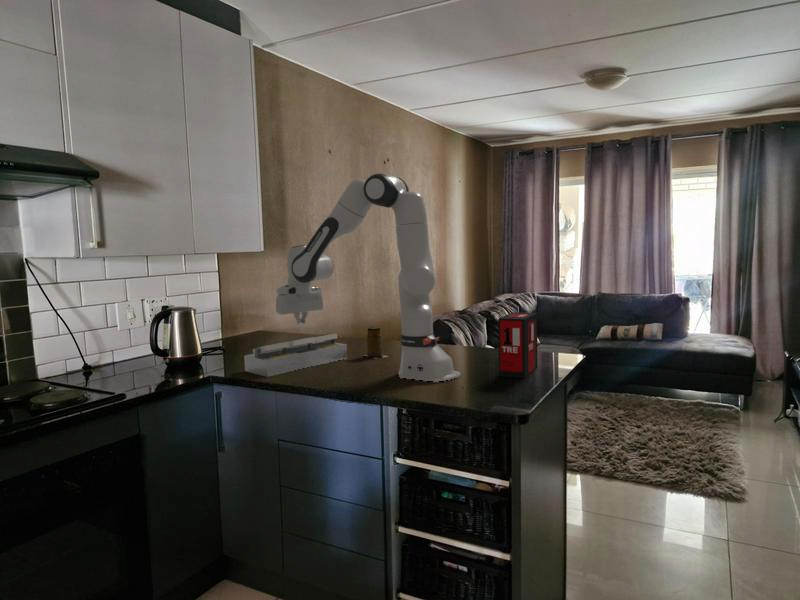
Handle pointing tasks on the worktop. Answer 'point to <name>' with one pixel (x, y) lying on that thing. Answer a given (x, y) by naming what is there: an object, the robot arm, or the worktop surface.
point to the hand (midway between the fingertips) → (301, 323)
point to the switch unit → (294, 358)
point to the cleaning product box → (517, 344)
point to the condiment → (374, 343)
